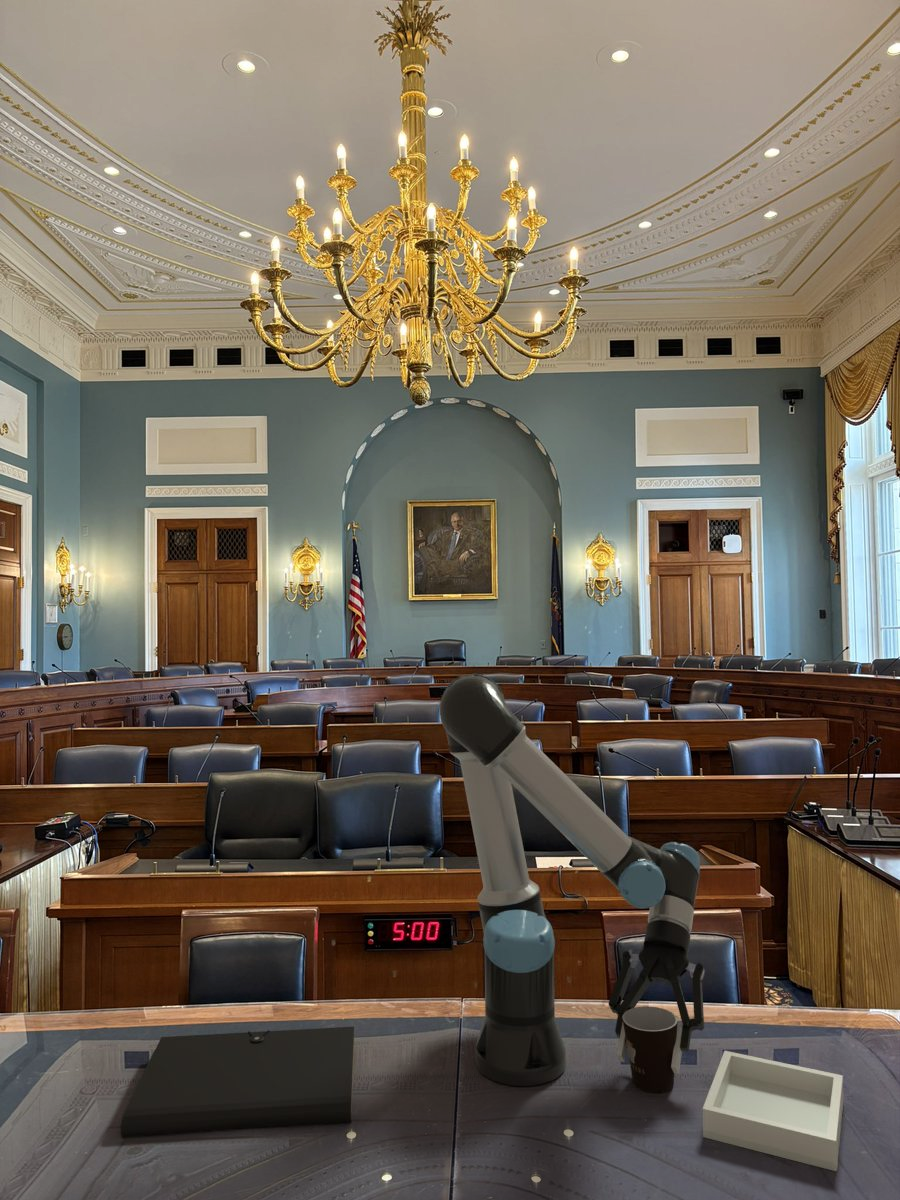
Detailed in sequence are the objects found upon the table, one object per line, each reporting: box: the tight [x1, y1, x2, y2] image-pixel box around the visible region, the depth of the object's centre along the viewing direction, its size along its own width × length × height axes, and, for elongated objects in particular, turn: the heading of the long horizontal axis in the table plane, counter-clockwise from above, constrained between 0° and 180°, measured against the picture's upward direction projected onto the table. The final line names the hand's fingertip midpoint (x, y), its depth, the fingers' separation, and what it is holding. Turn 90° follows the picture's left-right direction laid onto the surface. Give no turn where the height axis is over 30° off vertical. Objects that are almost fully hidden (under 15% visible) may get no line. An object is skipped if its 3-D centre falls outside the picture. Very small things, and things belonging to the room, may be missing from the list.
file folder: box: [120, 1026, 355, 1138], centre depth 136 cm, size 33×4×24 cm
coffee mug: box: [622, 1005, 678, 1094], centre depth 138 cm, size 12×9×10 cm
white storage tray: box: [702, 1050, 844, 1172], centre depth 126 cm, size 17×18×4 cm
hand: (647, 1064), depth 135 cm, fingers closed on coffee mug, 8 cm apart
